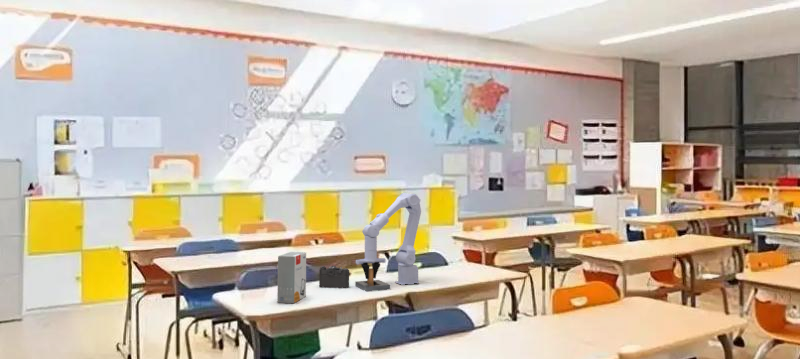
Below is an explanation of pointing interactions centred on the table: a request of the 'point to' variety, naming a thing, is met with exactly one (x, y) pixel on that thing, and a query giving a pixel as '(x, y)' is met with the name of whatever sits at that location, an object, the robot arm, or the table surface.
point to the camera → (333, 277)
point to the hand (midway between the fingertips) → (370, 278)
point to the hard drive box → (291, 277)
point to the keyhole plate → (368, 287)
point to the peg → (371, 276)
